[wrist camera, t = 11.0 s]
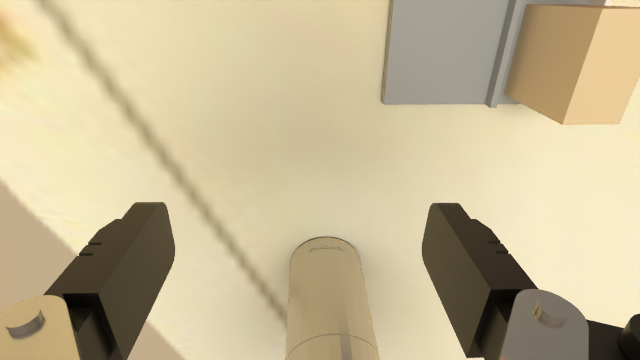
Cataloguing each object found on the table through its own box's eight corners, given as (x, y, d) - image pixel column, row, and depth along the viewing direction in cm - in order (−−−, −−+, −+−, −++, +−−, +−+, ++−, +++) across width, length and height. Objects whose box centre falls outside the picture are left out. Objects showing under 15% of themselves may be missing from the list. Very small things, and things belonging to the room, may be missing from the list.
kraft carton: (577, 4, 31) (670, 8, 23) (549, 93, 35) (620, 123, 27) (526, 4, 31) (602, 8, 23) (503, 94, 35) (562, 124, 27)
